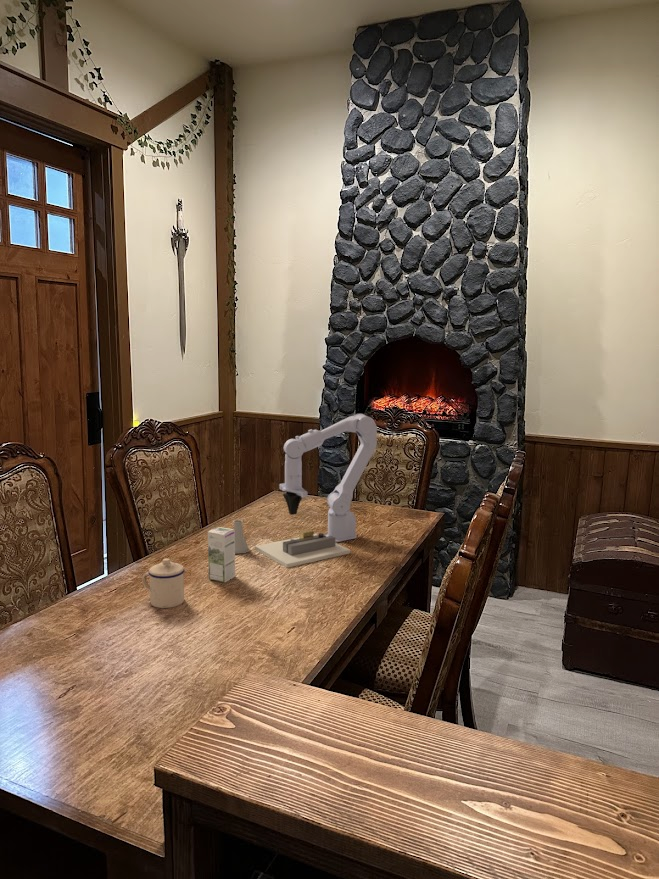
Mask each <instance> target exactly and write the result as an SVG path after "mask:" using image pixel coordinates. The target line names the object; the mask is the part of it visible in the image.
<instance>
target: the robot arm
mask: <svg viewBox="0 0 659 879" xmlns="http://www.w3.org/2000/svg"><path fill="white" fill-rule="evenodd" d="M345 432H349V433H356V435H357V436H358V440H359V442H360V445H359V447H358V448H357V451H356V452H355V454H354V456H353V458H352V460H351V461H350V464H349V466H348V467H347V469H346V472H345V473H344V475H343V476H342V479H341V481H340V483H339V484H337V485H336V486H335V488H334V490H333V491H331V493H329V494H328V496H327V497H326V503H327V505H328V506H329V508H328V511H327V534H324V535H325V536H326V537H328V536H333V537H336V543H339V542H343V541H348V540H354V539H357V538H358V536H357V534H356V533H357V531H356V530H357V529H356V528H357V520H356V515H355V514H354V512H353V511H350V510H351V503H352V500H353V495H354V490H355V488H356V487H357V484H358V482H359V481H360V478H361V477H362V474H363V473H364V471H365V469H366V467H367V465H368V464H369V462H370V459H371V458H372V456H373V453H374V452H375V450H376V448H377V445H378V439H377V438H378V437H377V433H378V426H377V425H376V422H375V420H374V419H373V418H372V417H371V416H367V415H365V414H364V413H356V414H354V415H350V416H348V417H346V418H344V419H341V420H340V421H338V422H336V423H334V424H331V425H329V426H328V427H326V428H324V429H321V430H318V429H312V428H311V429H308V430H307V432H306V433H304V434H302V435H296V436H295V438H290V439H288V440H286V442H285V443H284V444H283V452H284V453H285V454H284V455H285V456H284V460H285V461H284V482H283V483H279V490H280V491H282V492H284V493H283V494H282V497H283V498H284V500H285V502H286V505H287V509H288V513H289V515H297V514H298V510H299V506H300V503H301V501H302V499H304V498H308V494H309V493H308V491H307V490H305V488H303V487H302V486H303V483H302V482H303V480H302V479H303V478H302V475H303V470H302V468H303V463H302V462H303V461H302V456H303V454H304V453H306V452H309V451H311V450H314V449H315V448H318V447H320V446H322V445H323V443H324V441H325V440H328V439H330V438H332V437H335V436H337V435H339V434H342V433H345Z"/></svg>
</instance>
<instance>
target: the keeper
mask: <svg viewBox="0 0 659 879" xmlns="http://www.w3.org/2000/svg"><path fill="white" fill-rule="evenodd" d="M314 532H315V531H314V530H312V529H304V530H299V532H298V537H299V539H301V538H306V537H311V536H314V534H315V533H314Z"/></svg>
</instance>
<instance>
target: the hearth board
mask: <svg viewBox="0 0 659 879" xmlns="http://www.w3.org/2000/svg"><path fill="white" fill-rule="evenodd" d="M316 535H318V534H317V533H314V536H316ZM296 539H299V536H298V537H295V538H287V539H283V540H279V541H273V542H268V543H263V544H258V545H254V550H255V551H256V552H259V553H260V554H262V555H264V556H266V557H268V558H269V559H270V560H272V561H274V562H276V563H277V564H279V565H281V566H283V567H285V568H286V569H287V568H291V567H296V566H300V565H305V564H309V562H310V563H313V562H317V561H323V560H327V559H331V558H335V557H339V556H340V557H341V556H343V555H349V554H351V549H350V548H348V547H346V546H343V545H341V544H340V543H339V544H338V542H336V537H333V536H328V537H323V538H318V539H313V540H308V541H303V542H298V543H293V544H289V545H288V553H285V552H284V551H283V542H286V541H291V540H296Z"/></svg>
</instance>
